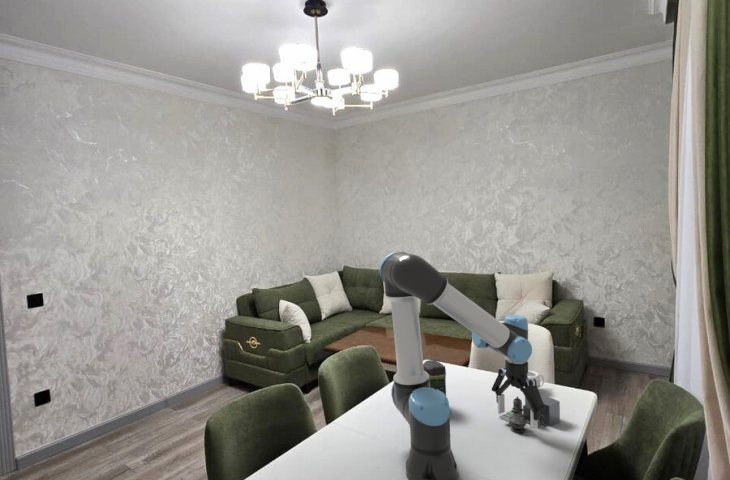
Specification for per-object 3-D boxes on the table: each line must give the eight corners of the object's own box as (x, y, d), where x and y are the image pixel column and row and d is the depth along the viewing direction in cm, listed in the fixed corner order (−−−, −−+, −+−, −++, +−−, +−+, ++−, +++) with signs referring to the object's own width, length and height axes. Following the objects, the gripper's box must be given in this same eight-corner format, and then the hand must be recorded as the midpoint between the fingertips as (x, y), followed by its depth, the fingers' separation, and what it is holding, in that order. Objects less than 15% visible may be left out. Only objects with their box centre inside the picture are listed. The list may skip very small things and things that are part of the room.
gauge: (533, 434, 138) (533, 413, 138) (499, 417, 151) (498, 398, 150) (559, 421, 146) (559, 401, 146) (525, 406, 158) (524, 387, 158)
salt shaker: (508, 432, 140) (507, 398, 140) (510, 424, 146) (509, 391, 145) (526, 435, 138) (525, 401, 137) (528, 427, 143) (527, 394, 142)
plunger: (535, 424, 143) (535, 410, 142) (510, 413, 152) (510, 400, 151) (551, 417, 147) (551, 403, 147) (526, 406, 156) (526, 393, 156)
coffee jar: (450, 412, 156) (448, 365, 155) (431, 415, 154) (429, 367, 153) (439, 401, 166) (438, 357, 165) (421, 404, 164) (420, 359, 163)
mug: (529, 397, 166) (528, 378, 166) (514, 389, 174) (514, 371, 174) (551, 391, 171) (551, 373, 170) (536, 384, 179) (536, 366, 178)
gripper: (556, 368, 132) (556, 432, 133) (495, 349, 153) (495, 404, 154) (541, 373, 128) (542, 439, 129) (481, 352, 149) (482, 409, 150)
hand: (517, 420), depth 141 cm, fingers open, 13 cm apart
